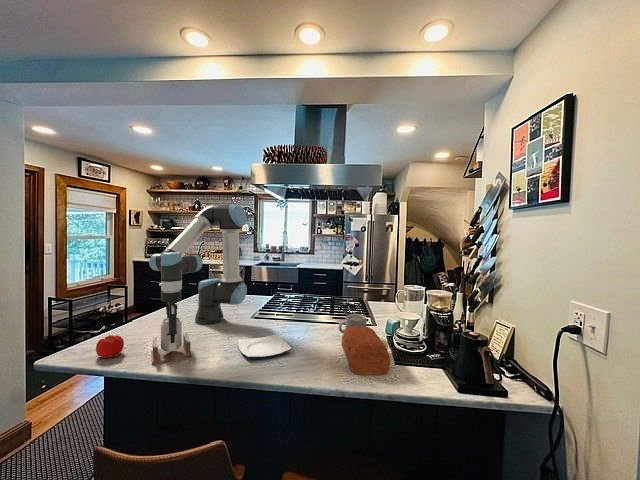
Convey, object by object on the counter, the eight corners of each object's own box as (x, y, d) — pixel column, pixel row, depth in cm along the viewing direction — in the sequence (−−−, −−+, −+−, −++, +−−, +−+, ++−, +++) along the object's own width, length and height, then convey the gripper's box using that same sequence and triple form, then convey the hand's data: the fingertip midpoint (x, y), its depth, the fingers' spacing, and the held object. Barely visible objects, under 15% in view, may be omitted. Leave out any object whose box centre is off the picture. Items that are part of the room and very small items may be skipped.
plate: (245, 364, 114) (245, 358, 114) (235, 345, 132) (235, 339, 132) (294, 355, 123) (294, 349, 123) (278, 338, 141) (278, 333, 141)
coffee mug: (365, 334, 149) (365, 314, 149) (366, 341, 139) (367, 320, 139) (338, 333, 150) (338, 313, 150) (338, 340, 140) (338, 319, 140)
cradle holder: (188, 346, 129) (188, 331, 129) (192, 357, 119) (192, 341, 118) (151, 353, 122) (151, 337, 121) (151, 365, 111) (151, 347, 111)
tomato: (103, 362, 113) (103, 343, 112) (91, 357, 117) (91, 338, 117) (129, 353, 121) (129, 335, 120) (117, 349, 125) (117, 331, 125)
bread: (373, 346, 134) (374, 323, 134) (392, 375, 108) (393, 346, 107) (340, 346, 133) (340, 323, 133) (350, 376, 107) (351, 347, 106)
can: (173, 352, 116) (173, 322, 115) (156, 351, 117) (156, 321, 117) (185, 345, 123) (185, 317, 122) (169, 343, 124) (169, 315, 124)
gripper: (159, 287, 126) (159, 339, 127) (162, 297, 108) (162, 358, 109) (179, 285, 130) (179, 336, 131) (184, 295, 112) (184, 354, 113)
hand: (171, 346), depth 120 cm, fingers closed on can, 7 cm apart
